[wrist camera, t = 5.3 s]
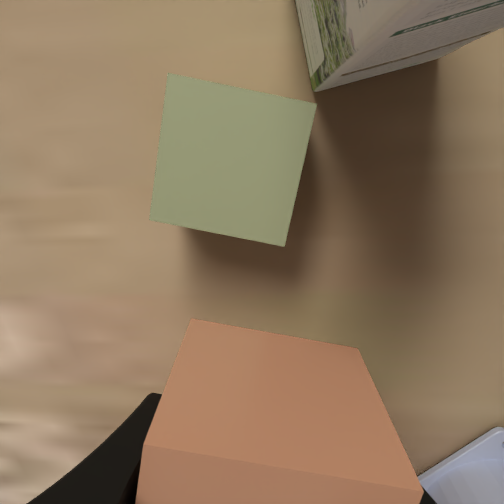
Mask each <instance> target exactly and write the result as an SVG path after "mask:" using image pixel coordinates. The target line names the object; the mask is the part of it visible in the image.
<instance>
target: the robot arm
mask: <svg viewBox="0 0 504 504" xmlns="http://www.w3.org/2000/svg"><path fill="white" fill-rule="evenodd" d="M161 396H162V394H157V393H151V394H149V395H148V396H147V397H146V398H145V399H144V400H143V402H142V403H141V404H140V405H139V406H138V407H137V409H136V410H135V411H134V412H133V413H132V414H131V415H130V416H129V417H128V418H127V419H126V420H125V421H124V422H123V423H122V425H121V426H119V427H118V428H117V429H116V430H115V431H114V432H113V433H112V434H111V435H110V436H109V437H108V438H107V439H106V440H105V441H104V442H103V443H102V444H101V445H100V446H99V447H98V448H96V449H95V450H94V451H93V452H92V453H91V454H90V455H88V456H87V457H86V458H85V459H84V460H83V461H82V462H80V463H79V464H78V465H77V466H76V467H75V468H73V469H72V470H71V471H70V472H69V473H67V474H66V475H65V476H64V477H62V478H61V479H60V480H58V481H57V482H56V483H55V484H53V485H52V486H51V487H49V488H48V489H47V490H45V491H44V492H43V493H41V494H40V495H38V496H37V497H36V498H34V499H33V500H31V501H30V502H28V503H27V504H135V502H136V495H137V487H138V480H139V473H140V465H141V458H142V451H143V444H144V441H145V439H146V436H147V433H148V431H149V428H150V426H151V423H152V420H153V418H154V415H155V412H156V410H157V407H158V404H159V402H160V399H161ZM503 442H504V428H503V427H495V428H493V429H491V430H490V431H488V432H487V433H485V434H484V435H482V436H480V437H479V438H477V439H476V440H474V441H473V442H471V443H470V444H468V445H466V446H465V447H463V448H462V449H460V450H459V451H457V452H455V453H454V454H452V455H451V456H449V457H448V458H446V459H445V460H443V461H441V462H440V463H438V464H437V465H435V466H434V467H432V468H431V469H429V470H427V471H426V472H424V473H423V474H421V475H420V476H418V477H417V478H418V480H419V482H420V484H421V486H422V488H423V491H424V493H423V495H422V498H421V500H420V503H419V504H504V443H503Z"/></svg>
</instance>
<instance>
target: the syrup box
mask: <svg viewBox="0 0 504 504" xmlns="http://www.w3.org/2000/svg"><path fill="white" fill-rule="evenodd" d="M295 4H296V9H297V14H298V18H299V23H300V28H301V33H302V39H303V44H304V49H305V54H306V59H307V64H308V69H309V75H310V80H311V86H312V90H313V91H315V92H318V91H322V90H325V89H329V88H333V87H337V86H340V85H344V84H348V83H351V82H355V81H359V80H362V79H366V78H370V77H373V76H377V75H381V74H384V73H388V72H392V71H396V70H399V69H403V68H407V67H411V66H414V65H418V64H421V63H425V62H428V61H432V60H435V59H438V58H441V57H443V56H445V55H447V54H449V53H451V52H453V51H455V50H457V49H459V48H461V47H462V46H464V45H466V44H468V43H470V42H472V41H474V40H477V39H479V38H481V37H483V36H485V35H487V34H489V33H491V32H494V31H496V30H498V29H500V28H503V27H504V0H295Z"/></svg>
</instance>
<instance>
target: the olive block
mask: <svg viewBox="0 0 504 504" xmlns="http://www.w3.org/2000/svg"><path fill="white" fill-rule="evenodd" d="M316 106H317V104H316V103H311V102H306V101H301V100H296V99H291V98H287V97H282V96H277V95H272V94H267V93H263V92H258V91H253V90H248V89H243V88H239V87H234V86H229V85H224V84H219V83H214V82H210V81H205V80H200V79H195V78H190V77H186V76H181V75H176V74H171V73H168V76H167V84H166V92H165V99H164V107H163V115H162V123H161V131H160V139H159V147H158V155H157V162H156V170H155V178H154V186H153V194H152V202H151V210H150V218H149V220H151V221H156V222H162V223H167V224H172V225H177V226H182V227H187V228H192V229H197V230H202V231H207V232H212V233H217V234H222V235H227V236H232V237H237V238H242V239H248V240H253V241H258V242H263V243H268V244H273V245H278V246H283V247H285V242H286V238H287V234H288V229H289V225H290V221H291V216H292V212H293V207H294V203H295V199H296V194H297V190H298V185H299V181H300V177H301V172H302V168H303V163H304V159H305V155H306V150H307V146H308V141H309V137H310V133H311V128H312V124H313V119H314V115H315V111H316Z"/></svg>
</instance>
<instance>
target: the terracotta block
mask: <svg viewBox="0 0 504 504" xmlns="http://www.w3.org/2000/svg"><path fill="white" fill-rule="evenodd" d="M423 493H424V491H423V488H422V486H421V484H420V482H419V480H418V478H417V475H416V473H415V471H414V469H413V467H412V465H411V463H410V460H409V458H408V456H407V454H406V452H405V450H404V447H403V445H402V443H401V441H400V439H399V437H398V434H397V432H396V430H395V428H394V426H393V424H392V421H391V419H390V417H389V415H388V413H387V411H386V409H385V406H384V404H383V402H382V400H381V398H380V396H379V393H378V391H377V389H376V387H375V385H374V383H373V380H372V378H371V376H370V374H369V372H368V370H367V367H366V365H365V363H364V361H363V359H362V357H361V354H360V352H359V350H358V348H353V347H348V346H342V345H337V344H331V343H326V342H320V341H314V340H309V339H303V338H298V337H292V336H287V335H281V334H275V333H270V332H264V331H259V330H253V329H247V328H242V327H236V326H231V325H225V324H220V323H214V322H208V321H203V320H197V319H192V318H191V320H190V323H189V325H188V328H187V330H186V333H185V336H184V338H183V341H182V344H181V346H180V349H179V352H178V354H177V357H176V359H175V362H174V365H173V367H172V370H171V373H170V375H169V378H168V381H167V383H166V386H165V389H164V391H163V394H162V396H161V399H160V402H159V404H158V407H157V410H156V412H155V415H154V418H153V420H152V423H151V426H150V428H149V431H148V433H147V436H146V439H145V441H144V444H143V451H142V458H141V465H140V473H139V480H138V487H137V495H136V502H135V504H419V503H420V500H421V498H422V495H423Z"/></svg>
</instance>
